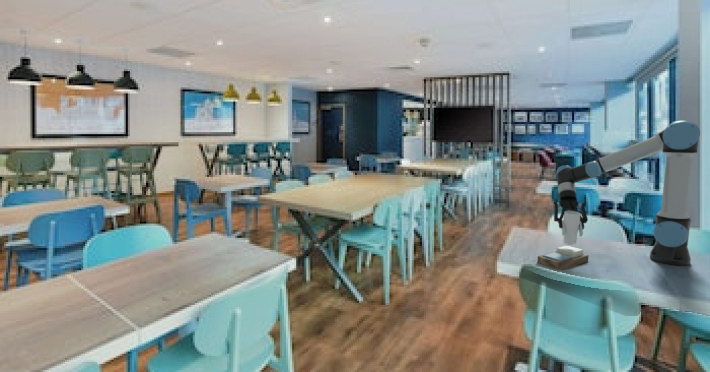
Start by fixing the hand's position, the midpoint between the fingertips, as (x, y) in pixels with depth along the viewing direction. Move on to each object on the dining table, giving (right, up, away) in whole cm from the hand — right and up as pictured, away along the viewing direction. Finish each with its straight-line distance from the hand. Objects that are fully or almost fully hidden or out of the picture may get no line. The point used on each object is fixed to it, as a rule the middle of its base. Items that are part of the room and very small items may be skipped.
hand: (572, 234), depth 186 cm
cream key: (+1, -10, +5) cm, 12 cm away
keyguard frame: (-3, -13, +3) cm, 14 cm away
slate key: (-7, -13, 0) cm, 15 cm away
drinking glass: (+1, -5, +4) cm, 7 cm away
